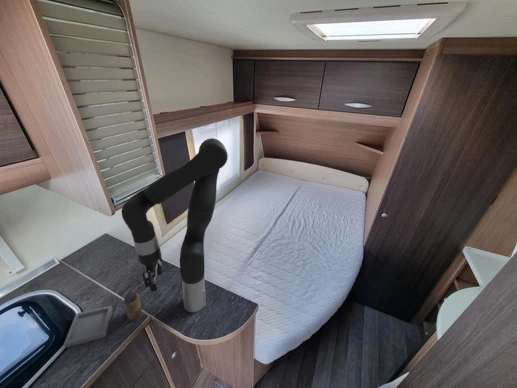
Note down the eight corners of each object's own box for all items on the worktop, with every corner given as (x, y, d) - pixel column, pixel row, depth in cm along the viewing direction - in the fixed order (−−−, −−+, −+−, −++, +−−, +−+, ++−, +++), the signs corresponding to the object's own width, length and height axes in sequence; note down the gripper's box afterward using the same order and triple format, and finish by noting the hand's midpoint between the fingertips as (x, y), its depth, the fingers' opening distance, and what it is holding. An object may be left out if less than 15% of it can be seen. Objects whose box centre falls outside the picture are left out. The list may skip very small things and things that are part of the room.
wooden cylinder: (142, 307, 90) (139, 289, 86) (141, 318, 86) (137, 300, 81) (129, 311, 88) (124, 292, 84) (127, 322, 84) (122, 303, 79)
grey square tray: (112, 309, 88) (111, 305, 87) (105, 337, 78) (104, 333, 77) (77, 317, 83) (76, 313, 82) (65, 348, 74) (63, 344, 73)
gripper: (153, 259, 69) (163, 294, 75) (163, 236, 82) (170, 268, 88) (129, 262, 68) (141, 298, 74) (143, 238, 81) (152, 270, 87)
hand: (157, 281), depth 81 cm, fingers open, 8 cm apart
